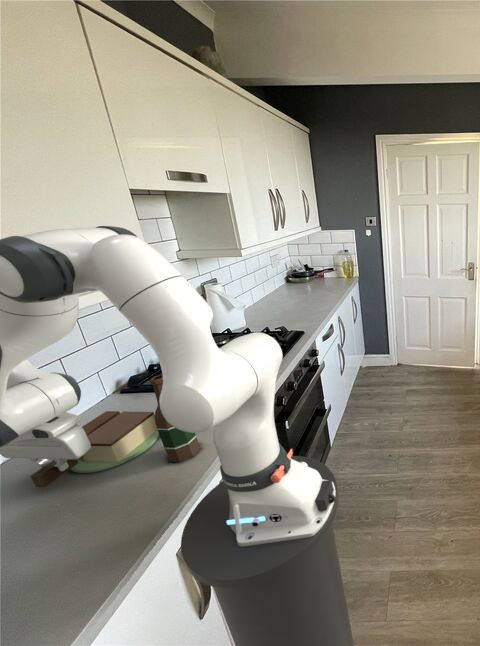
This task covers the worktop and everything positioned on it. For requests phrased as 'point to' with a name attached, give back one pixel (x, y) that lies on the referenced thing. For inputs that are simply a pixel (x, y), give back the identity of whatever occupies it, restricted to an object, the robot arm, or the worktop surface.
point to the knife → (50, 473)
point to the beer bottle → (173, 431)
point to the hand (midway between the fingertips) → (56, 469)
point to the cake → (119, 441)
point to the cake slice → (99, 422)
